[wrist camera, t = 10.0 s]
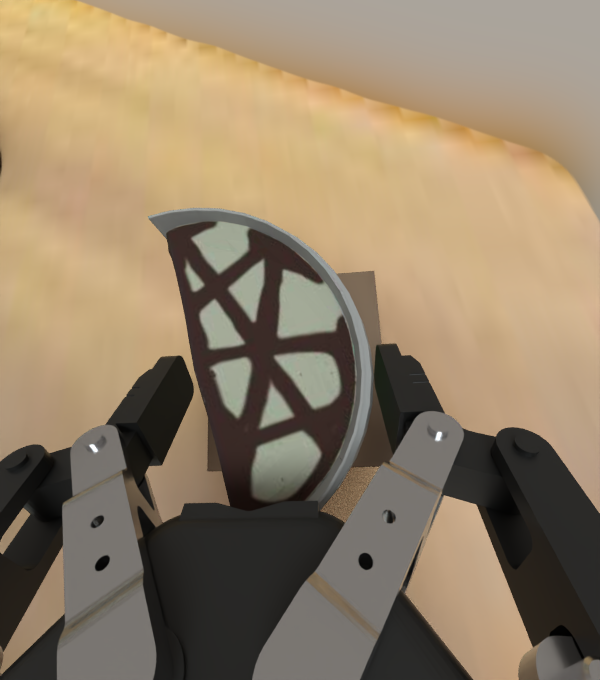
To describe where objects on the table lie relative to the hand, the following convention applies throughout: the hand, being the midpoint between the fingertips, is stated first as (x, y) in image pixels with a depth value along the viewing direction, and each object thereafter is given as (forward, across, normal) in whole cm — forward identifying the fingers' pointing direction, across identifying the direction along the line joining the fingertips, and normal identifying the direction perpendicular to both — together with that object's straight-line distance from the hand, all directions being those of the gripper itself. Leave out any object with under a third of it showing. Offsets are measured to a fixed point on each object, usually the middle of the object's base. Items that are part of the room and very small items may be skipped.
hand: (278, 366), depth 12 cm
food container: (+5, 0, +4) cm, 7 cm away
